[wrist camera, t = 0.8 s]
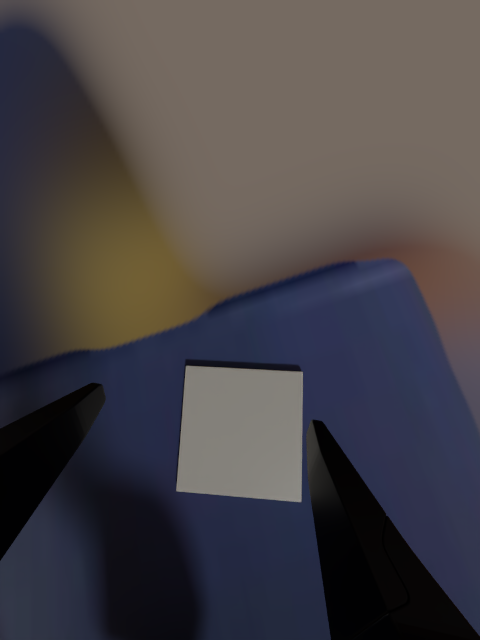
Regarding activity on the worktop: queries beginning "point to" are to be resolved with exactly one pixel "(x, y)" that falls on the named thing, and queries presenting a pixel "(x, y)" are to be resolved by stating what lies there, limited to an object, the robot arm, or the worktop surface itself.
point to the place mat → (241, 433)
